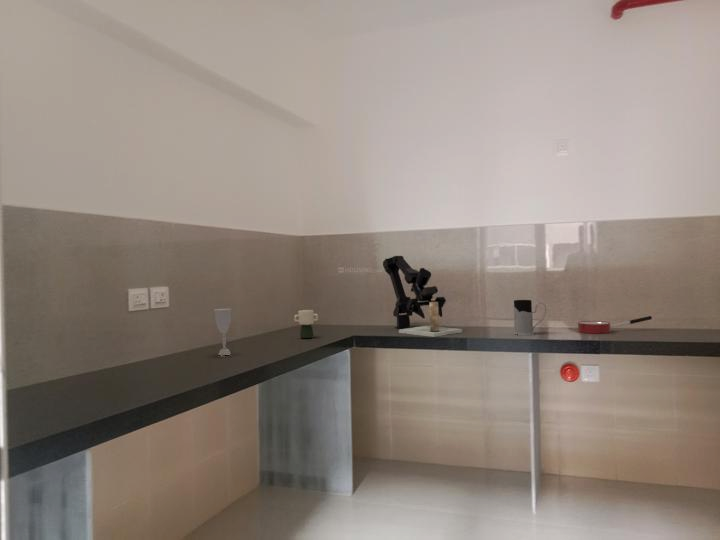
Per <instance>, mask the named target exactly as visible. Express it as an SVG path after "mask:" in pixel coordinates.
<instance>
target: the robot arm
mask: <svg viewBox="0 0 720 540" xmlns="http://www.w3.org/2000/svg"><path fill="white" fill-rule="evenodd" d="M382 267H383V268H384V271H385V273H387V274H388V276H389V278H390V281H391V284H392V286H393V287H392V288H393V291H394V294H395V297H396V302H395V303H394V305H395V307H394V310H393V312H392V315H393V317H395V318H396V326H394V329H407V328H413V327H412V326H411V319H410V317H412V316H413V313H414V314H416V315H418V316H420V317H421V318H422V319H425V318H426V317H425V313H424V311H423V309H422V307H428V306H429V307H430V305H429V302H438V312H439V317H440V318H442V317H443V307H444V305H445V304H446V302H447V300H446V298H445V297H444V296H436V297H435V299H434V300H432V299H433V298H434V295H435V294H437V293H438V291H439V289H438V287H437V286H436V285H433V286H427V285H428V283H429V281H430V279H431V277H432V273H431V272H430V271H429V270H428V269H425V267H420V268H419V271H418V270H417V269H414V268H412V267H411V266H410V265H409V263H408V262H407V261H406V260H405V258H404V256H403V255H393V256H391V257H389V258H384V259H383V262H382ZM399 271H401V272H402V274H403V275H404V277H403V278H404V280H405V283H407V284H408V285H410V284H411V288H410V292H411V293H412V292H413V293H414V296H415V298H411V296H407V295H406V292H405V289H404V285H403V282H402V279H401V277H400V276H401V275H400V272H399ZM425 286H427V287H425Z"/></svg>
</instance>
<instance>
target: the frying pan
mask: <svg viewBox="0 0 720 540" xmlns="http://www.w3.org/2000/svg"><path fill="white" fill-rule="evenodd" d="M652 318H653V316H652V315H648V316H645V317H639V318H635V319H631V320H627V321H624V322H620V323H614V324H611V322H610V321H603V320H582V321H578V322H577V332H578V333H581V334H587V335H605V334H606V335H607V334H610V333H611V329H612V328H615V327H620V326H624V325H631V324H637V323H641V322H646V321H650V320H653V319H652Z"/></svg>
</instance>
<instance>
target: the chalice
mask: <svg viewBox="0 0 720 540" xmlns="http://www.w3.org/2000/svg"><path fill="white" fill-rule="evenodd" d="M213 311H214V313H215V315H214V316H215V317H214V318H215V325H216V327H217V329H218V330H219V333H221V334H222V338H221V340H222V342H221V344H222V348H221V349H220V350H219V352H218V355H221V356H220V357H223V356H222V355H230V354H231V351H230V349H229V348H227V347H226V344H227V341H226V339H227V337H226V333H227V332H228V331H229V329H230V326H231V323H232V322H231V321H232V318H231V317H232V314H231V313H232V308H215V309H213ZM231 355H232V354H231ZM231 355H230V356H231Z"/></svg>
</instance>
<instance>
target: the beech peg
mask: <svg viewBox="0 0 720 540" xmlns="http://www.w3.org/2000/svg"><path fill="white" fill-rule="evenodd" d="M439 317H440V316H439V312H438V302H429V326H430V332H439V327H440V318H439Z"/></svg>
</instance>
